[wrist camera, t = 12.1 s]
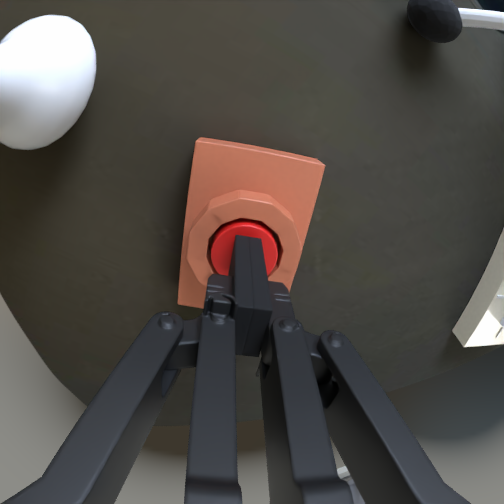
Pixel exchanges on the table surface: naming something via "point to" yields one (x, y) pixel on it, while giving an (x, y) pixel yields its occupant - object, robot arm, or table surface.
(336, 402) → the robot arm
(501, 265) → the cream rectangular base
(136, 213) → the table surface
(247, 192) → the button block
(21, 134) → the flower vase
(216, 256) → the button
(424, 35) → the mechanical valve
